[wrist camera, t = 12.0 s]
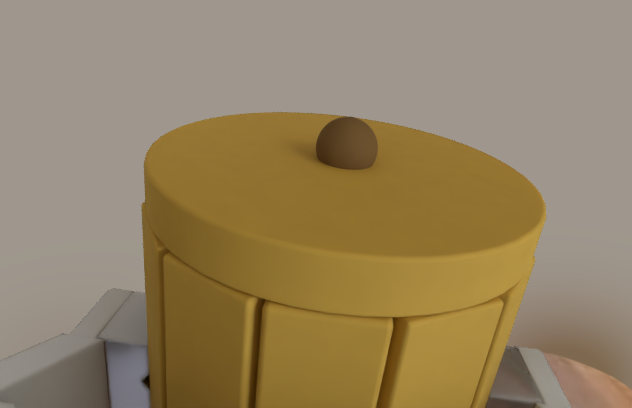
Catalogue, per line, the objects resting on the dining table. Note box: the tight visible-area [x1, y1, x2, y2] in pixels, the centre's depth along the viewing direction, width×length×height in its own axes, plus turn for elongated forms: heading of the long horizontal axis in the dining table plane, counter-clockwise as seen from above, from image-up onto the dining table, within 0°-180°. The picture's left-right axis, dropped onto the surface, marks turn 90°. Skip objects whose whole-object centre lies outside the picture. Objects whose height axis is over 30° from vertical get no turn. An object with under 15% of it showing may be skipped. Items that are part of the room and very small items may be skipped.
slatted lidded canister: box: [142, 112, 546, 408], centre depth 11 cm, size 9×6×11 cm
